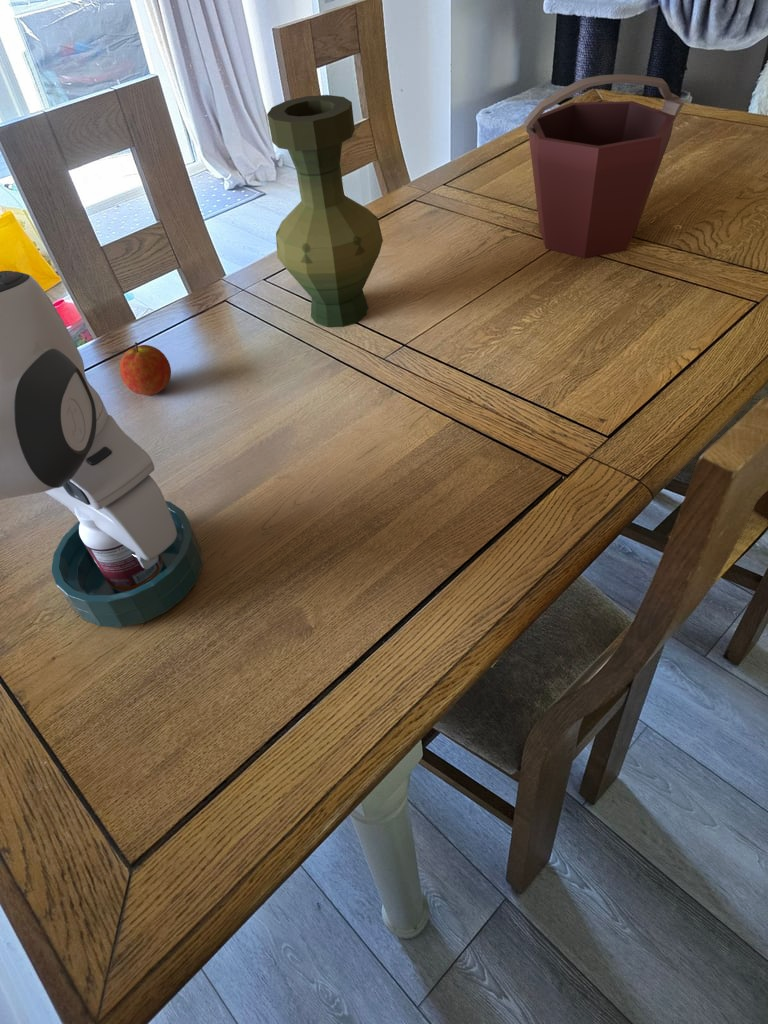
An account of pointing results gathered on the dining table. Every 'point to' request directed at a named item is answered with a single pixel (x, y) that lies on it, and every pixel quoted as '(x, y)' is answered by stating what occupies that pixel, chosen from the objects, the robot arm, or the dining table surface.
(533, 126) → the bucket
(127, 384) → the fruit
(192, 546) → the bowl
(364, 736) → the dining table surface
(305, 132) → the vase
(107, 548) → the pill bottle
